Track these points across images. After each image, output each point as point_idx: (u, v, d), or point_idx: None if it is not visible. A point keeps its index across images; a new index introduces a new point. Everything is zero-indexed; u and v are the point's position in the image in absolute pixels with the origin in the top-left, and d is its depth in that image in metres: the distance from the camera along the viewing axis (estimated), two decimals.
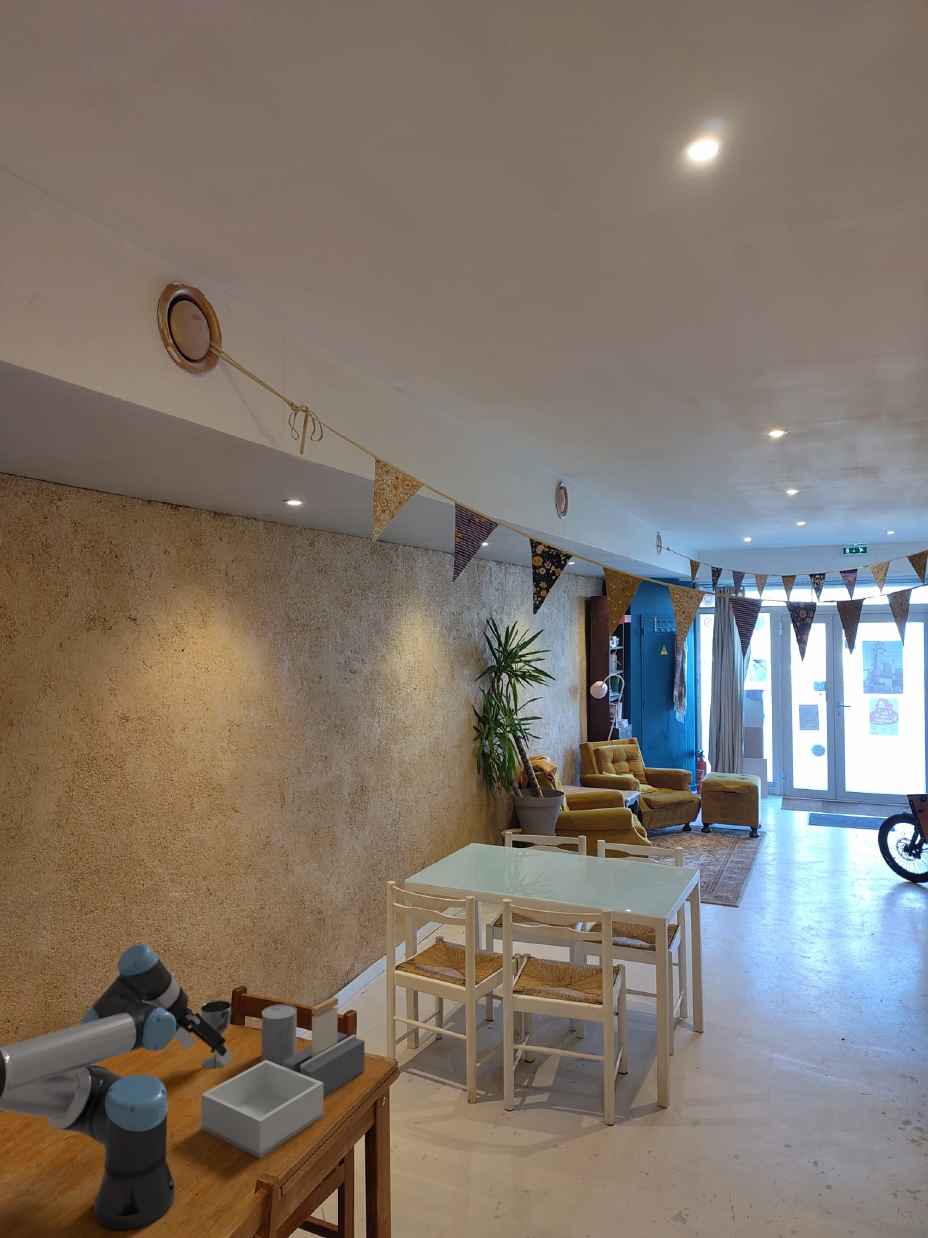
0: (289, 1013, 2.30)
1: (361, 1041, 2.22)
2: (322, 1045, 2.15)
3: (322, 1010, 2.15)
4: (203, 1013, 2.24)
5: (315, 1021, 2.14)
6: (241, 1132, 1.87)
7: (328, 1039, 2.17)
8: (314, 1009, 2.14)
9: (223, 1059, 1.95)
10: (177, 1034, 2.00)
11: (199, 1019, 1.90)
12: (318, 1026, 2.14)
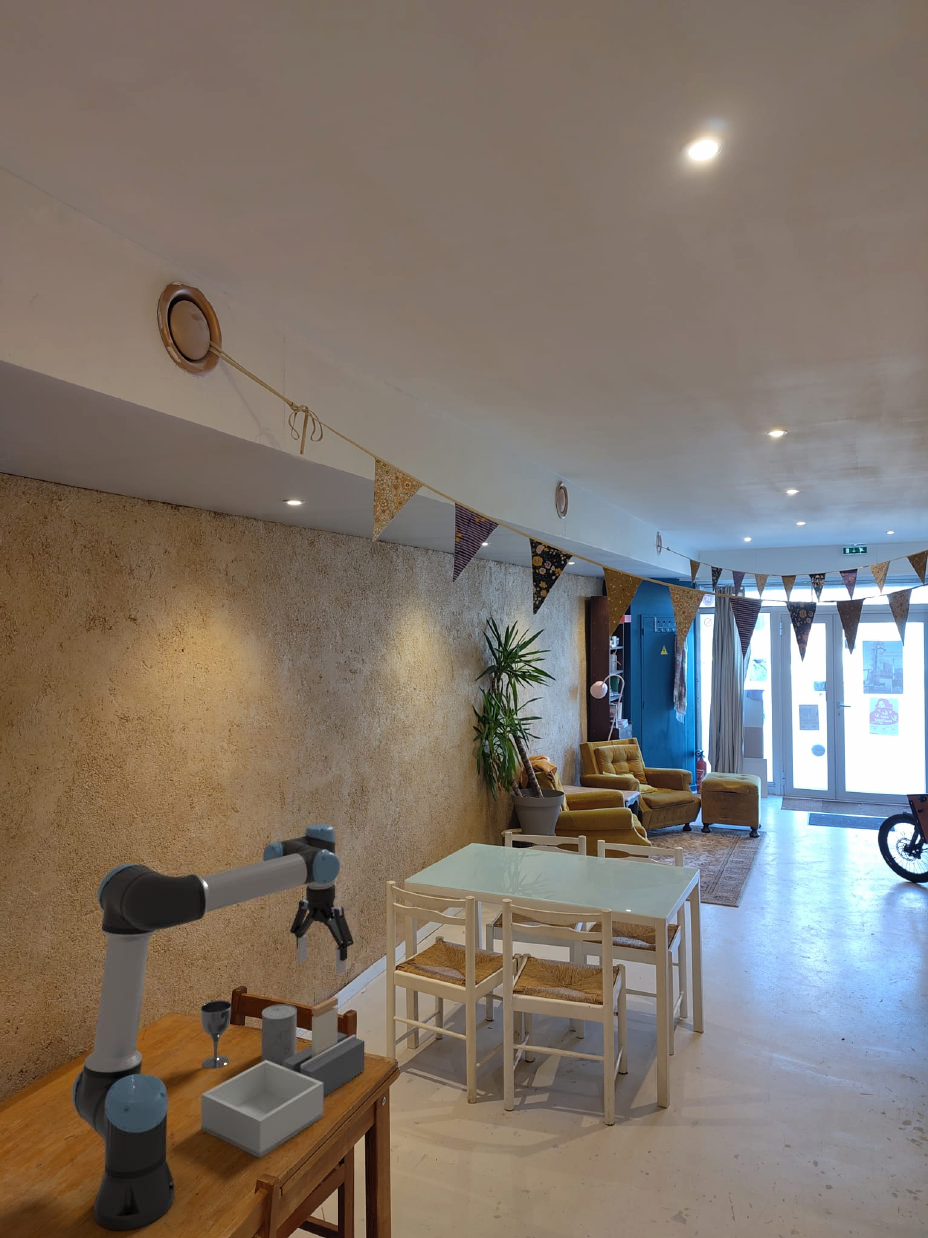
0: (289, 1013, 2.30)
1: (361, 1041, 2.22)
2: (322, 1045, 2.15)
3: (322, 1010, 2.15)
4: (203, 1013, 2.24)
5: (315, 1021, 2.14)
6: (241, 1132, 1.87)
7: (328, 1039, 2.17)
8: (314, 1009, 2.14)
9: (339, 966, 2.13)
10: (301, 940, 2.20)
11: (342, 912, 2.14)
12: (318, 1026, 2.14)
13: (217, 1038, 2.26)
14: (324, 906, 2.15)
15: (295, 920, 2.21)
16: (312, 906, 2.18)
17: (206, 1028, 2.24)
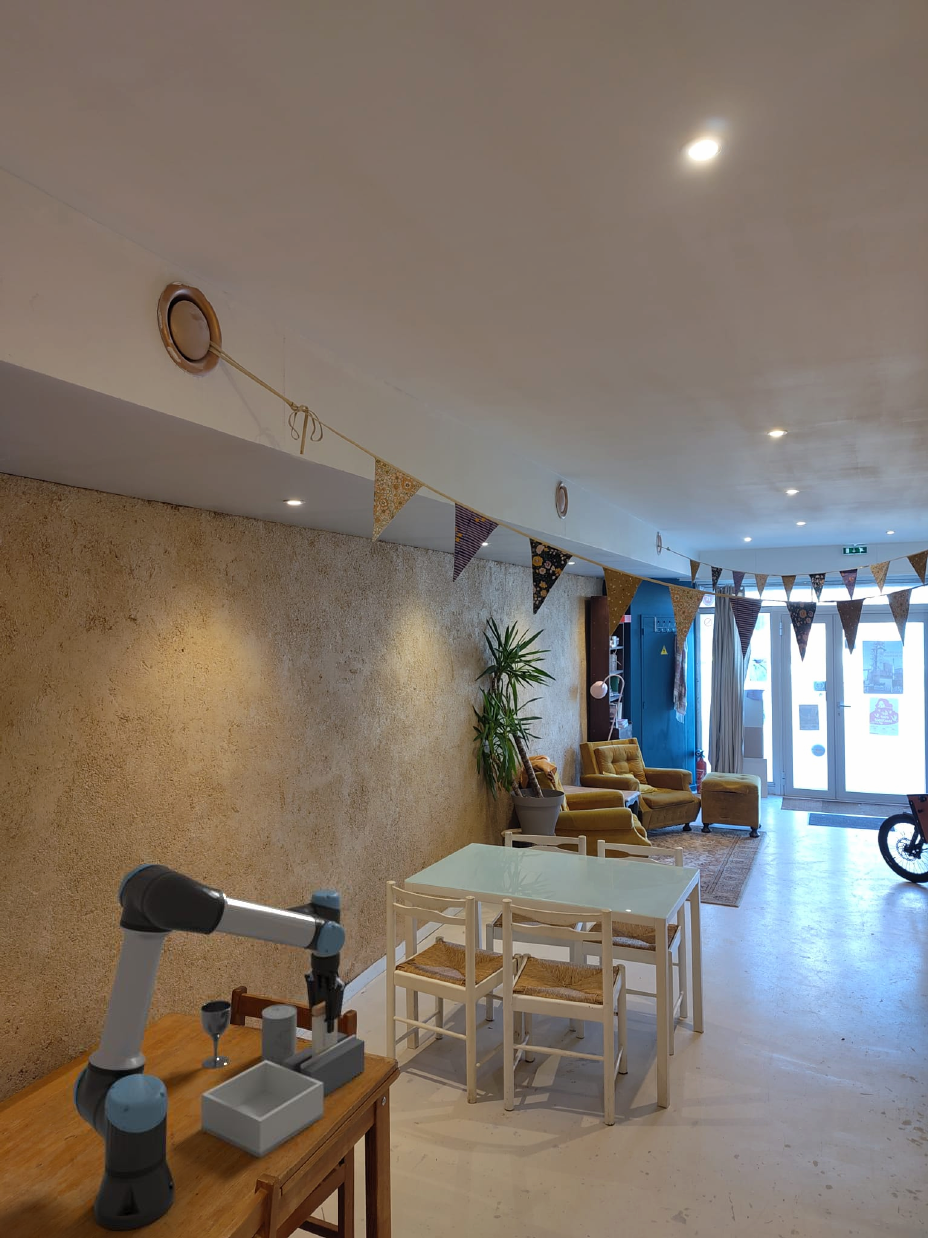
0: (289, 1013, 2.30)
1: (361, 1041, 2.22)
2: (322, 1045, 2.15)
3: (322, 1010, 2.15)
4: (203, 1013, 2.24)
5: (315, 1021, 2.14)
6: (241, 1132, 1.87)
7: None
8: (314, 1009, 2.14)
9: (326, 1038, 2.15)
10: None
11: (343, 988, 2.14)
12: (318, 1026, 2.14)
13: (217, 1038, 2.26)
14: (330, 973, 2.15)
15: (309, 997, 2.19)
16: (315, 970, 2.18)
17: (206, 1028, 2.24)
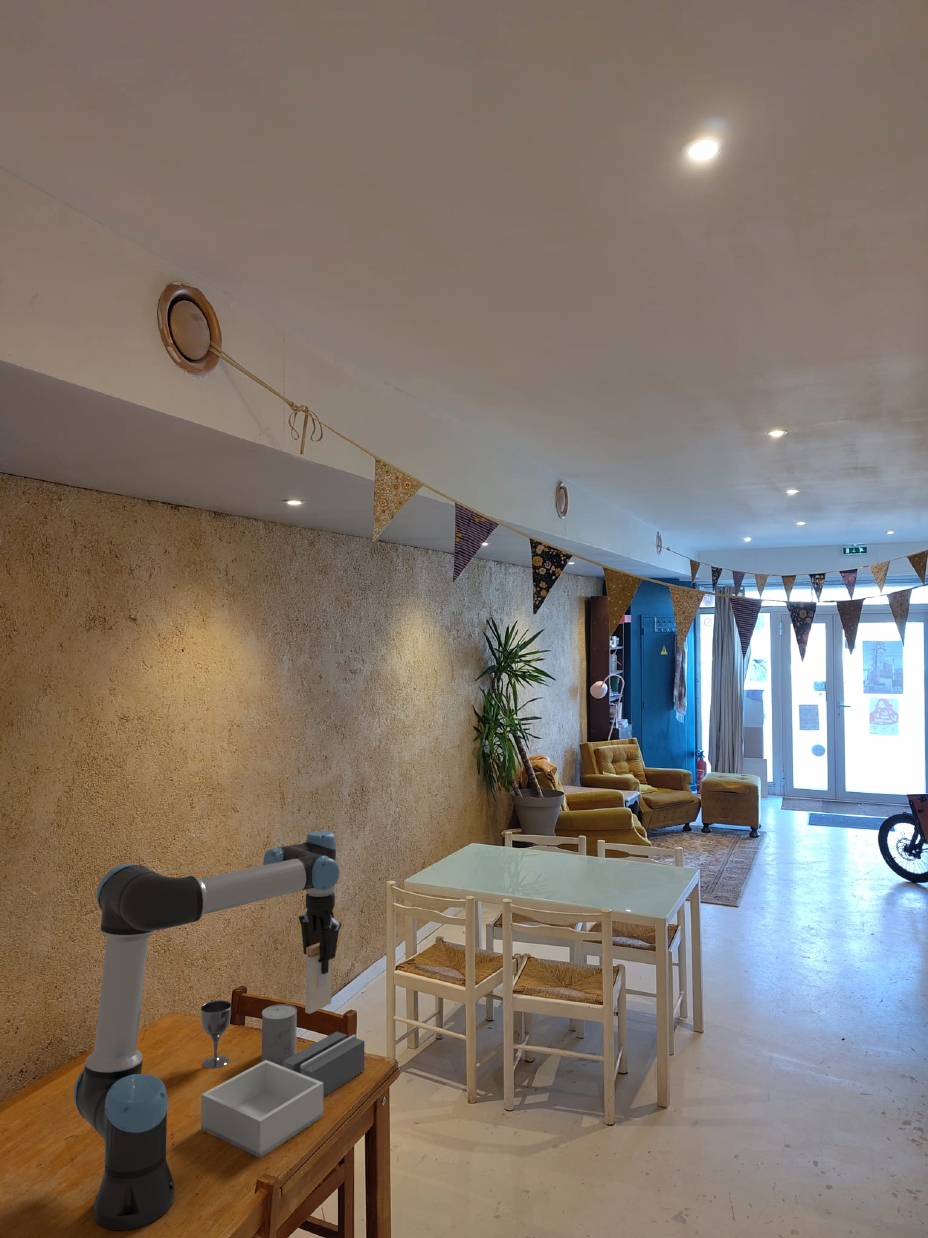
0: (289, 1013, 2.30)
1: (361, 1041, 2.22)
2: None
3: (316, 950, 2.14)
4: (203, 1013, 2.24)
5: (309, 961, 2.12)
6: (241, 1132, 1.87)
7: None
8: (308, 949, 2.13)
9: (320, 979, 2.14)
10: None
11: (338, 928, 2.13)
12: (312, 966, 2.13)
13: (217, 1038, 2.26)
14: (325, 913, 2.14)
15: (303, 938, 2.17)
16: (310, 911, 2.17)
17: (206, 1028, 2.24)
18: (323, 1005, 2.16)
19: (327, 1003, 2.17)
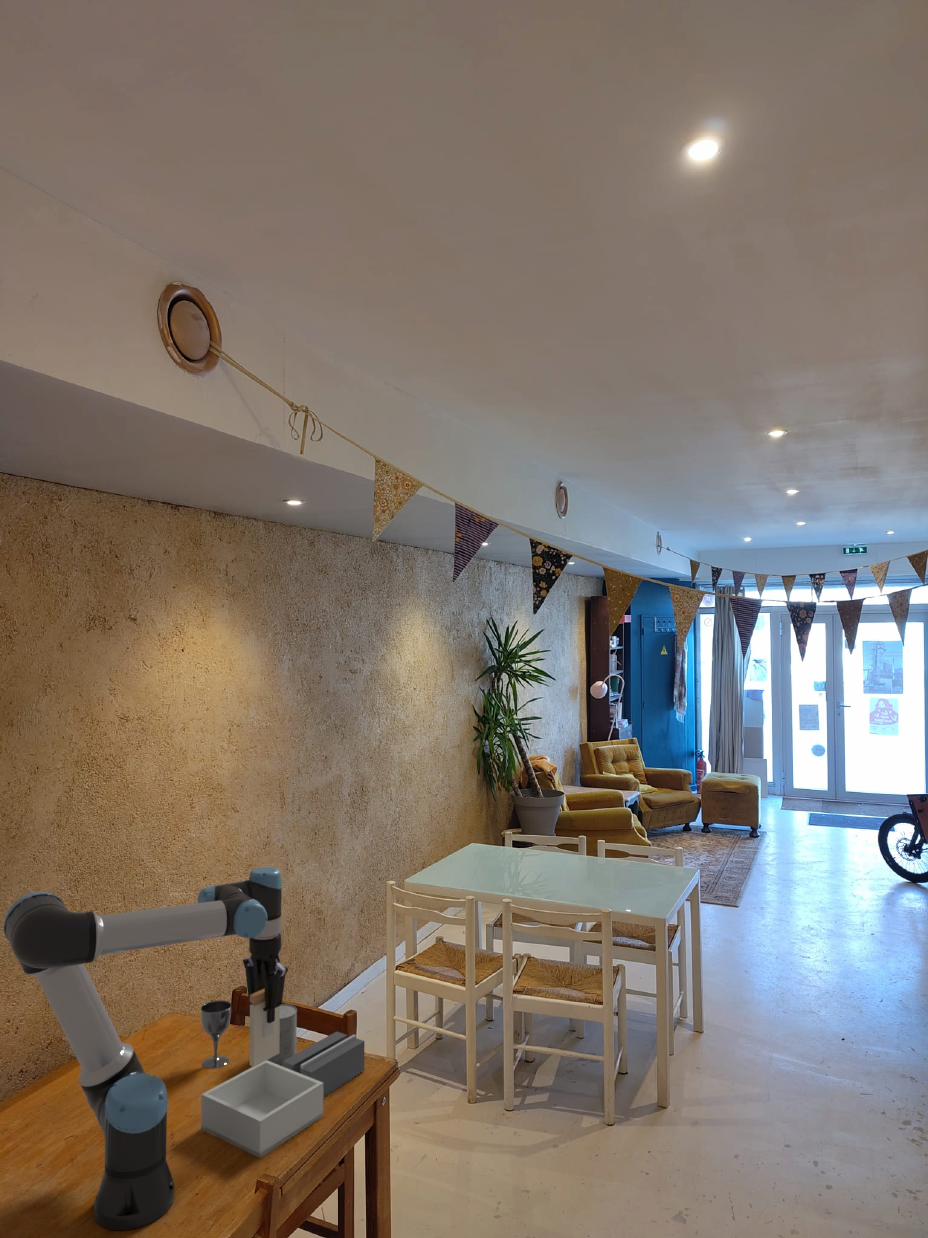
0: (289, 1013, 2.30)
1: (361, 1041, 2.22)
2: (262, 1036, 1.97)
3: (261, 998, 1.97)
4: (203, 1013, 2.24)
5: (253, 1009, 1.95)
6: (241, 1132, 1.87)
7: None
8: (252, 996, 1.96)
9: (266, 1029, 1.97)
10: None
11: (284, 973, 1.96)
12: (257, 1015, 1.96)
13: (217, 1038, 2.26)
14: (270, 957, 1.97)
15: (248, 984, 2.01)
16: (255, 954, 2.00)
17: (206, 1028, 2.24)
18: (270, 1056, 1.99)
19: (275, 1053, 2.00)
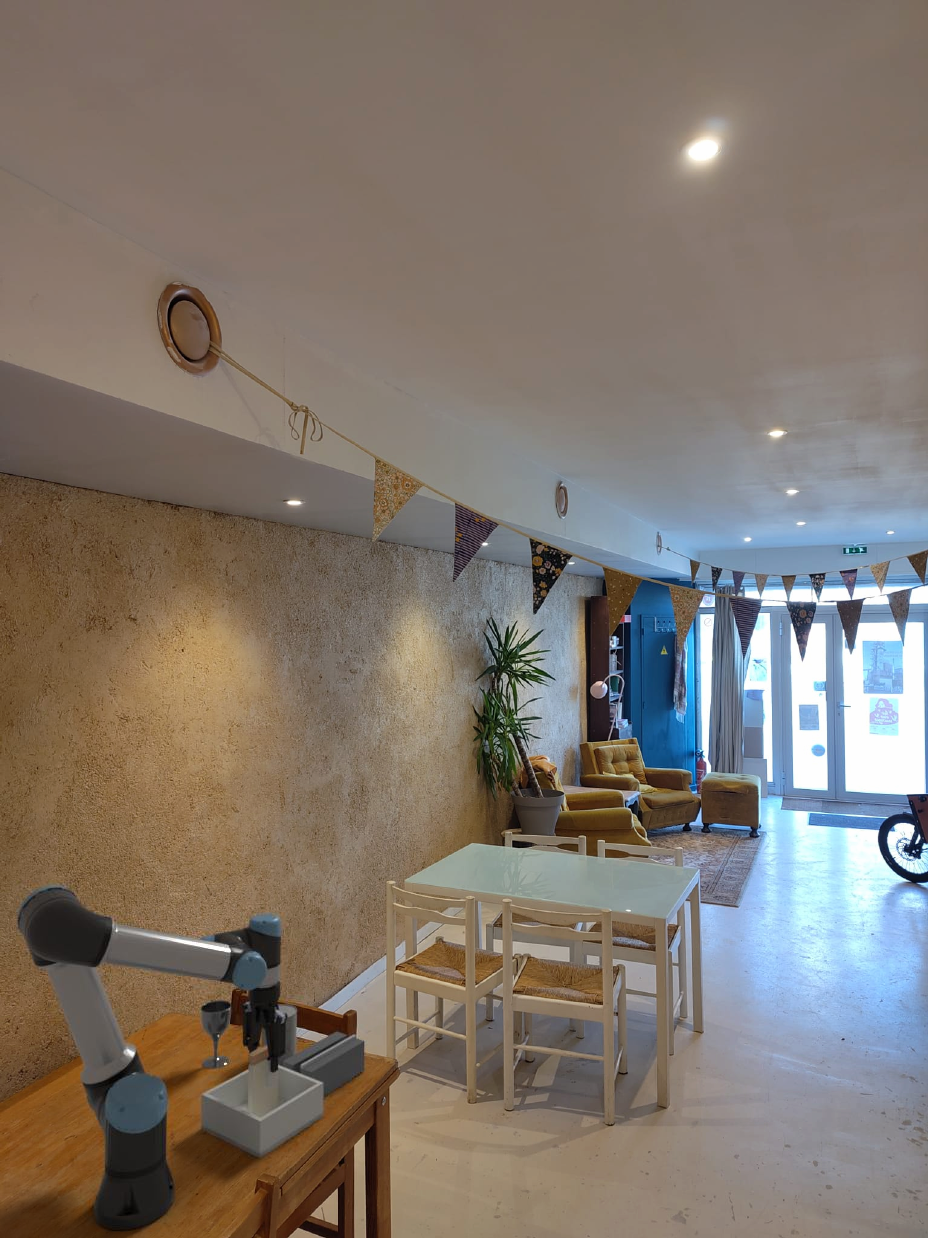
0: (289, 1013, 2.30)
1: (361, 1041, 2.22)
2: (260, 1095, 1.96)
3: (260, 1057, 1.96)
4: (203, 1013, 2.24)
5: (252, 1070, 1.95)
6: (241, 1132, 1.87)
7: (267, 1088, 1.98)
8: (251, 1056, 1.95)
9: (269, 1078, 1.96)
10: None
11: (284, 1020, 1.96)
12: (255, 1075, 1.95)
13: (217, 1038, 2.26)
14: (269, 1006, 1.96)
15: (244, 1029, 2.01)
16: (254, 1003, 1.99)
17: (206, 1028, 2.24)
18: None
19: None
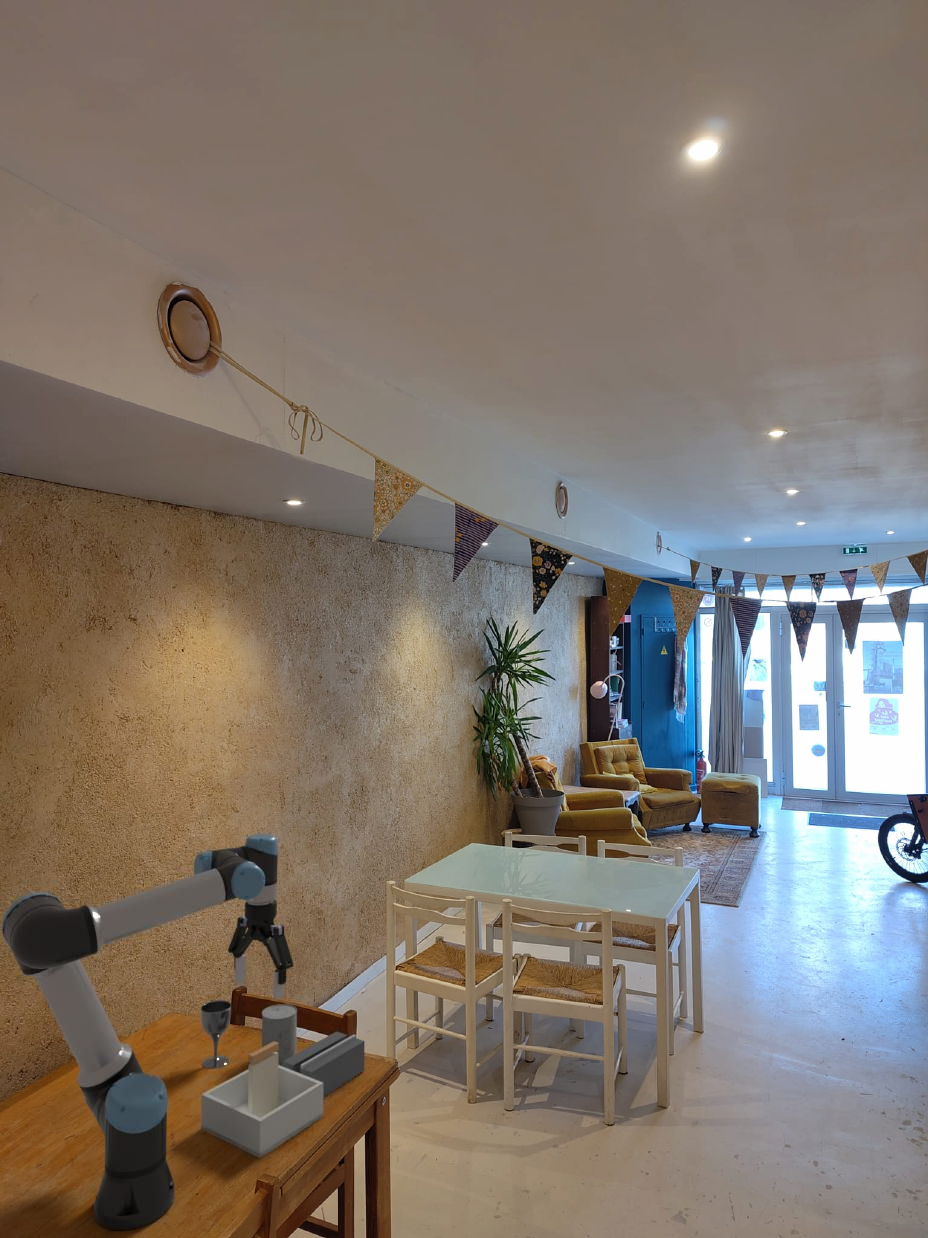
0: (289, 1013, 2.30)
1: (361, 1041, 2.22)
2: (260, 1095, 1.96)
3: (260, 1057, 1.96)
4: (203, 1013, 2.24)
5: (252, 1070, 1.95)
6: (241, 1132, 1.87)
7: (267, 1088, 1.98)
8: (251, 1056, 1.95)
9: (277, 990, 1.94)
10: (239, 960, 2.02)
11: (282, 930, 1.96)
12: (255, 1075, 1.95)
13: (217, 1038, 2.26)
14: (263, 924, 1.97)
15: (233, 938, 2.03)
16: (251, 923, 2.00)
17: (206, 1028, 2.24)
18: None
19: None
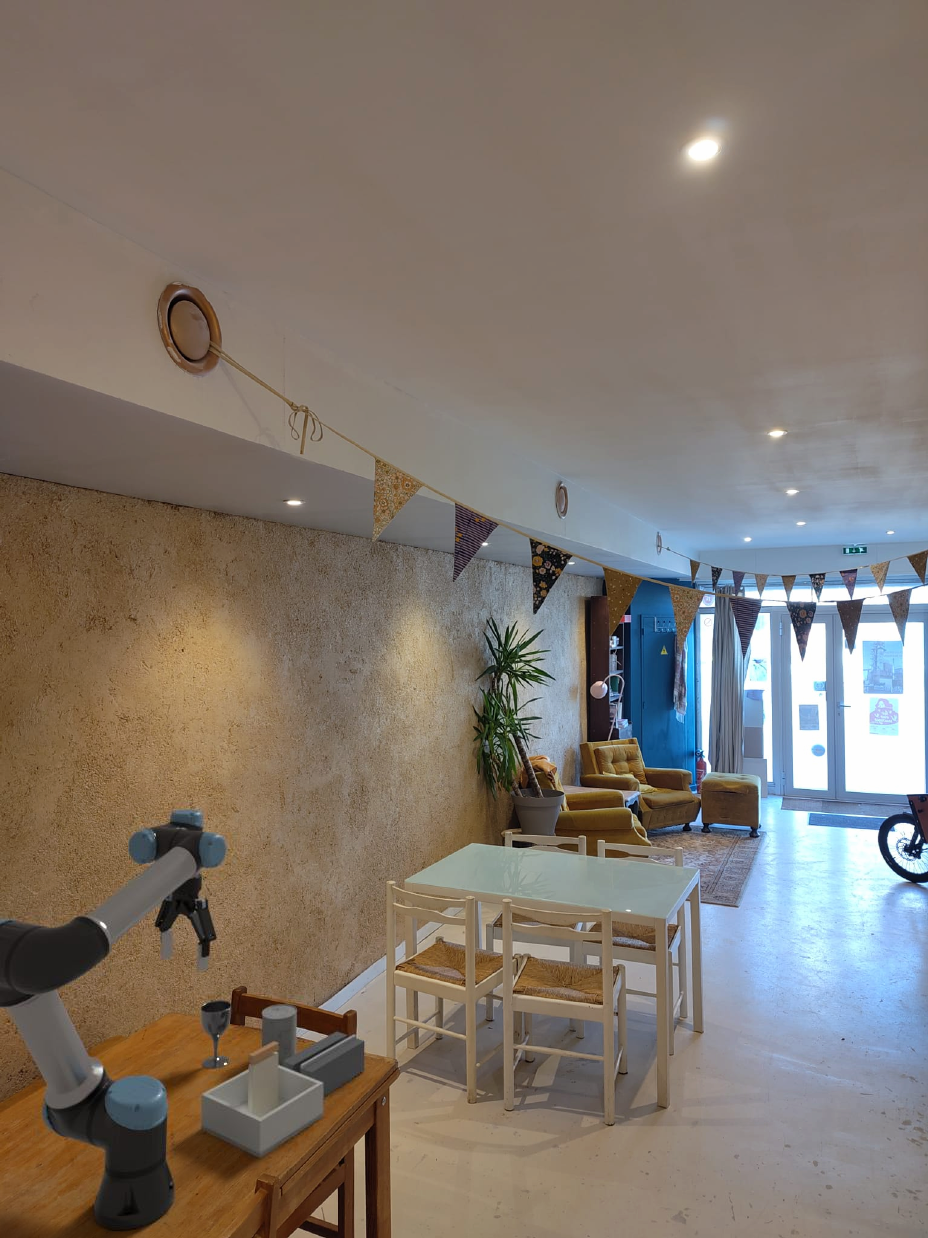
0: (289, 1013, 2.30)
1: (361, 1041, 2.22)
2: (260, 1095, 1.96)
3: (260, 1057, 1.96)
4: (203, 1013, 2.24)
5: (252, 1070, 1.95)
6: (241, 1132, 1.87)
7: (267, 1088, 1.98)
8: (251, 1056, 1.95)
9: (201, 963, 1.96)
10: (165, 934, 2.03)
11: (205, 904, 1.98)
12: (255, 1075, 1.95)
13: (217, 1038, 2.26)
14: (187, 898, 1.99)
15: (159, 913, 2.04)
16: (176, 898, 2.01)
17: (206, 1028, 2.24)
18: None
19: None
